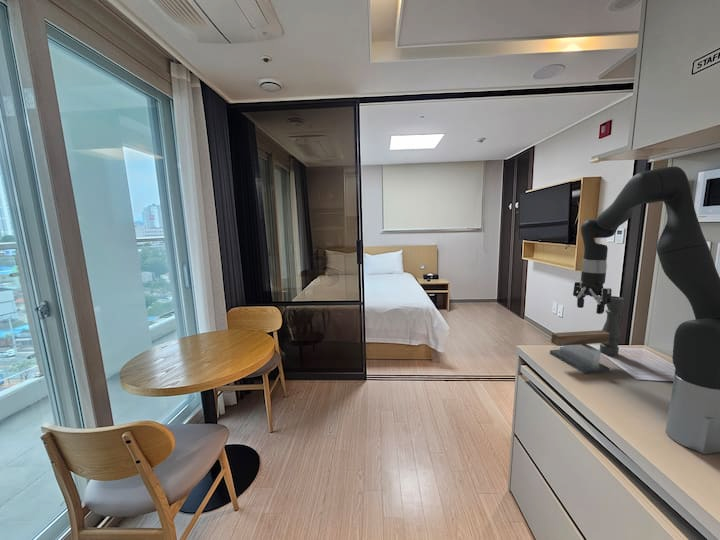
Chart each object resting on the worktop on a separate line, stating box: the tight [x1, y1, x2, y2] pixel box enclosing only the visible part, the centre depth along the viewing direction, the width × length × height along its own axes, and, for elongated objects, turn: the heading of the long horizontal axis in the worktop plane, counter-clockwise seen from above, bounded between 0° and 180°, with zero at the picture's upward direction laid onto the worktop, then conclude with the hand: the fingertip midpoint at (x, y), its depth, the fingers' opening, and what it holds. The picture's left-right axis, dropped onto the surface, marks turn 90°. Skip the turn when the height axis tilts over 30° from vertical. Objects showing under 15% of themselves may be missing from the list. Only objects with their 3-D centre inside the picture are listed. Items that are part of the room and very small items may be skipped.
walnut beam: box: [550, 329, 610, 347], centre depth 118 cm, size 4×22×4 cm, turn 95°
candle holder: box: [599, 295, 625, 357], centre depth 125 cm, size 6×6×25 cm
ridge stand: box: [549, 344, 611, 375], centre depth 119 cm, size 18×10×8 cm, turn 7°
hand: (589, 310), depth 117 cm, fingers open, 8 cm apart
